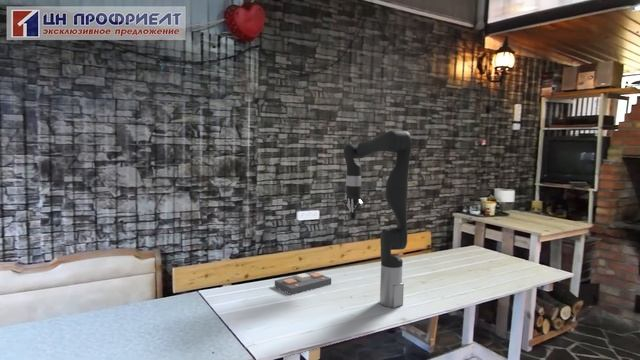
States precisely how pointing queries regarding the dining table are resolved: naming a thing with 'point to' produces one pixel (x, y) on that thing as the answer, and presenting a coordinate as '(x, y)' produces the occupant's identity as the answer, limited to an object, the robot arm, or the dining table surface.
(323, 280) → the keypad
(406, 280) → the dining table surface
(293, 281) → the key left
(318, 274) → the key right
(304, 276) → the key middle
